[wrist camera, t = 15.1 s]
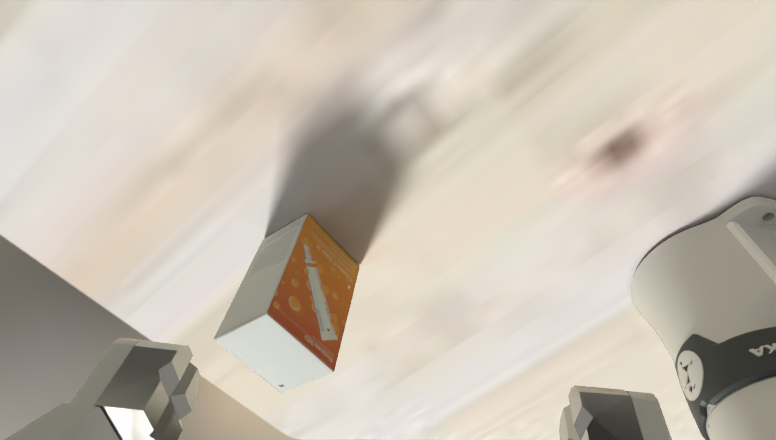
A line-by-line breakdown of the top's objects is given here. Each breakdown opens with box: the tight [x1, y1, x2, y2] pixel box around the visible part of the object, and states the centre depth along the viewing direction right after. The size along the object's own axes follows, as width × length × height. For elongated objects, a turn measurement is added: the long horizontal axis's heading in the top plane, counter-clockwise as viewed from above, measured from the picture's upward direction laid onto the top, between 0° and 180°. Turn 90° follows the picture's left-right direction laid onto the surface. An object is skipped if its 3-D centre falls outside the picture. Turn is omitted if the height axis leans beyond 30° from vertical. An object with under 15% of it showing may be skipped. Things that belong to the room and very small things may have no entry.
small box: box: [214, 213, 359, 392], centre depth 45 cm, size 8×6×13 cm
